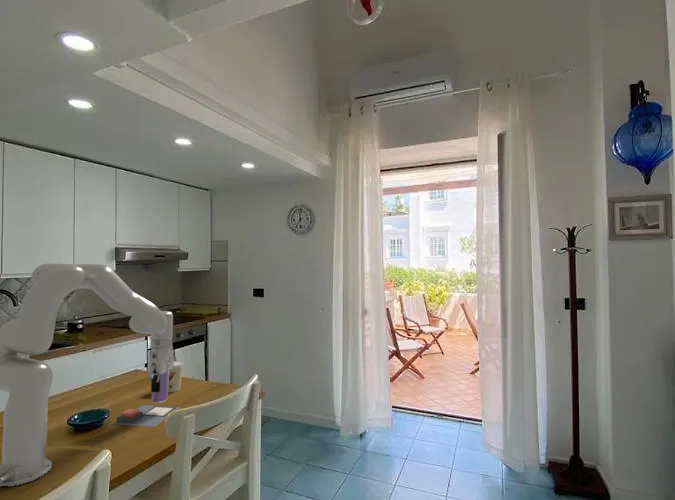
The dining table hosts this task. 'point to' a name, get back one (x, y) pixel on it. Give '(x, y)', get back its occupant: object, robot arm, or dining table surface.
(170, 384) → the coffee cup
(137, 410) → the button
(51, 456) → the dining table surface
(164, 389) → the beverage can
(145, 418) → the picture board
